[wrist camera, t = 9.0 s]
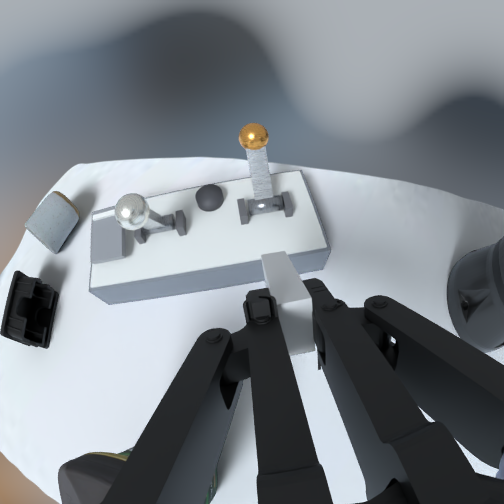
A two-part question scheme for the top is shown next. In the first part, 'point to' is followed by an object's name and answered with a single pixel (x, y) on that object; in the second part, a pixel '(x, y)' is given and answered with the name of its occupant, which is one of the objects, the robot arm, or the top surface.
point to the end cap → (29, 311)
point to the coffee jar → (98, 477)
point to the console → (214, 241)
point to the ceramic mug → (53, 221)
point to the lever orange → (259, 170)
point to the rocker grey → (106, 237)
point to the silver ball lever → (141, 216)
